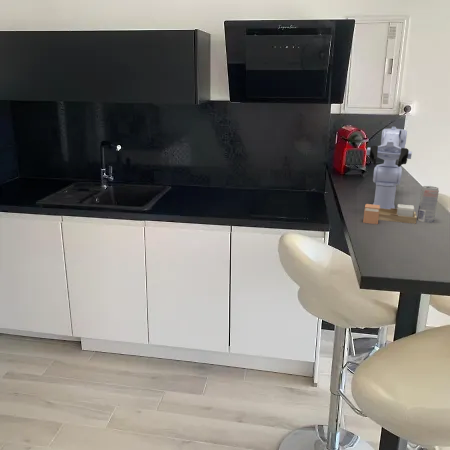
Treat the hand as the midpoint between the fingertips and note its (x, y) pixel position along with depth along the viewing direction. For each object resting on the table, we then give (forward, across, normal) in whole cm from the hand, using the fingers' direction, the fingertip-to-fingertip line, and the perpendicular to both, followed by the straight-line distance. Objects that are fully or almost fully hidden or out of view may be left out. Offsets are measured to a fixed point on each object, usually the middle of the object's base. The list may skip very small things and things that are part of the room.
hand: (386, 162), depth 151 cm
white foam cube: (+1, +8, +20) cm, 21 cm away
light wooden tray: (+2, +5, +20) cm, 21 cm away
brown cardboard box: (+9, -2, +18) cm, 21 cm away
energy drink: (0, +15, +21) cm, 26 cm away
